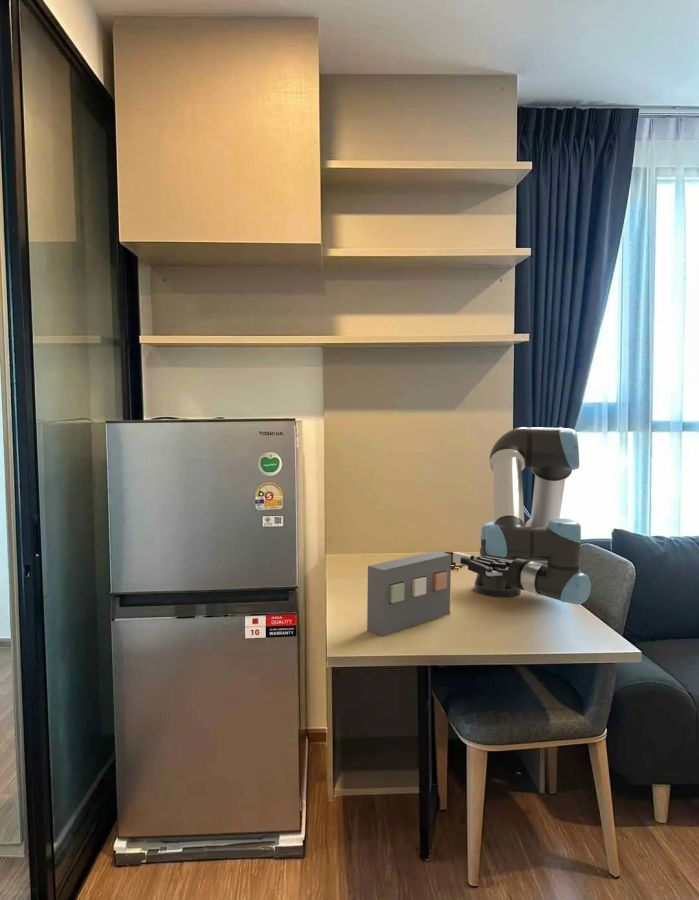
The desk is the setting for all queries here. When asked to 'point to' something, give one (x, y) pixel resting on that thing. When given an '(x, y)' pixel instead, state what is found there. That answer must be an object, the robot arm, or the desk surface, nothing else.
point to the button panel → (406, 593)
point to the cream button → (418, 586)
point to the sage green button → (396, 592)
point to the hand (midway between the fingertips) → (454, 557)
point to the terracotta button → (439, 580)
